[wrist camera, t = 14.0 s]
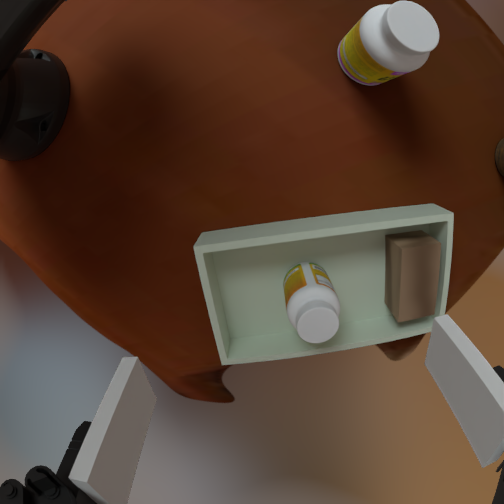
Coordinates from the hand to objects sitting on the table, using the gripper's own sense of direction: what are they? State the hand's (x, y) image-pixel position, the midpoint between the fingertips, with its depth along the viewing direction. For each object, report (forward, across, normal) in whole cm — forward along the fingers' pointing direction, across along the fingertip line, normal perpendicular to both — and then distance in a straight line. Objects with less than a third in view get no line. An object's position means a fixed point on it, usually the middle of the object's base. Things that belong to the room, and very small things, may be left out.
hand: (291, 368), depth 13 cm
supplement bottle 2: (+25, +13, +17) cm, 33 cm away
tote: (+24, +6, -8) cm, 26 cm away
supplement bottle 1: (+24, +4, -8) cm, 25 cm away
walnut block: (+23, +16, -8) cm, 29 cm away
